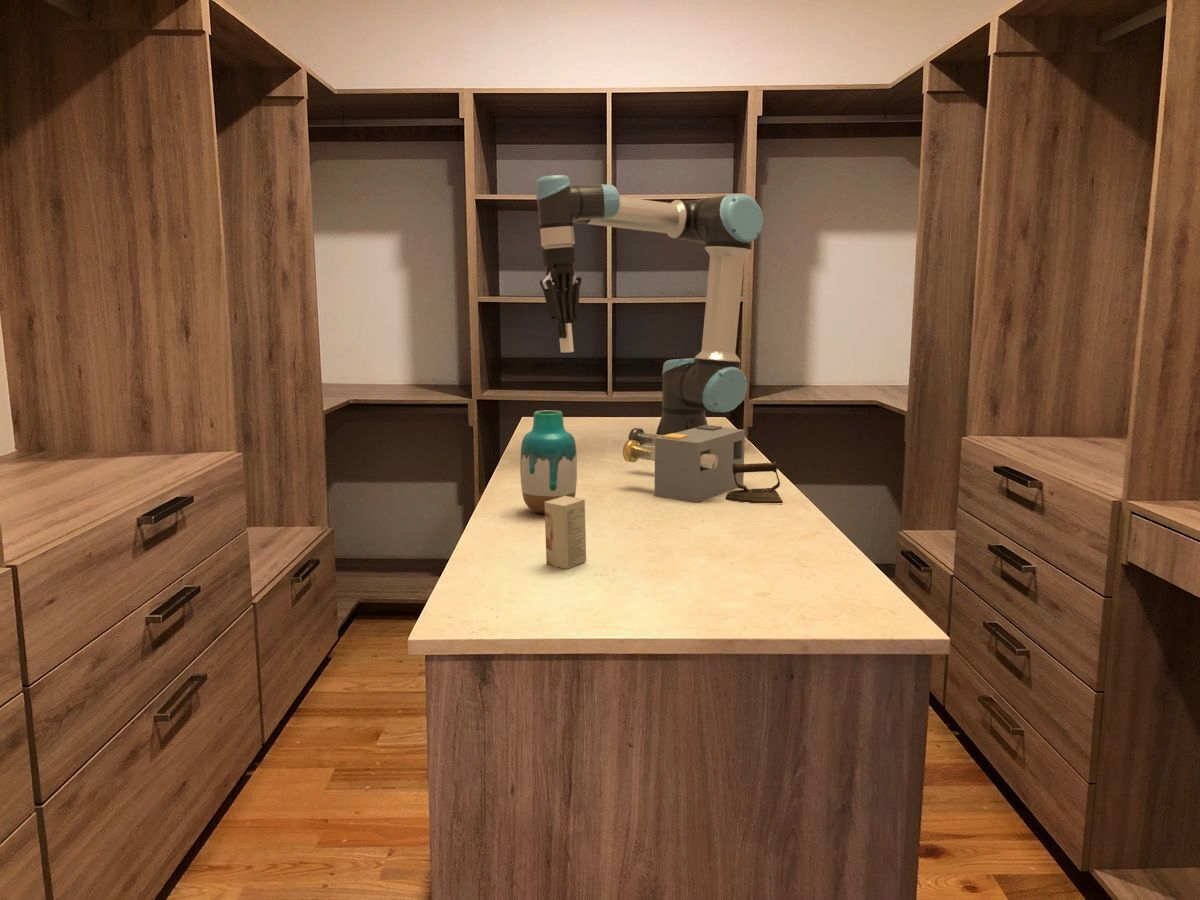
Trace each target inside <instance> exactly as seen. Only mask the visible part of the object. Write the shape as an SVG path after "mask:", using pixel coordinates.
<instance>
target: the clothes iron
mask: <svg viewBox="0 0 1200 900" xmlns="http://www.w3.org/2000/svg"><path fill="white" fill-rule="evenodd" d="M777 465H778V464H777V461H773V462H765V463H764V462H763V463H762V462H761V463H759V462H758V463H744V464H735V463H733V466H732V468H733V474H734V478H735V482H736V485H737V487H736V488H738V489H736V490H735V489H734V490H729V491H728V493H727V494H726V495H725V500H727V501H731V502H736V501H738V502H737V503H744V502H749V503H748V504H757V503H784V502H783V499H782V498H781V496H780V495H779V493H778V492H777V489H778V488H779V487H780V485H781V482H780V478H779V476H778V472H777V471H778V466H777ZM764 472H765V473H766V472H773V473H775V475H776V479H777V482H776V484H775V485H773V486H772V487H766V488H762V487H761V488H747V486H746V485H744V484H743V485H739V484H738V483H737V481H736V477H735V474H736V473H764Z"/></svg>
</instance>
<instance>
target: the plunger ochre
mask: <svg viewBox="0 0 1200 900" xmlns="http://www.w3.org/2000/svg"><path fill="white" fill-rule="evenodd" d="M622 457H623V459H624V461H625V462H629V463H635V462H637V461H638V460H645V461H652V462H653V461H654V462H655V447H653V446H645V445H643V446H640V444H639V442H638V441H635V440H629V439H627V441H626V442H625V443H624V445H623V448H622ZM717 464H718V457H717V456H716V455H712V454H704V453H701V459H700V467H703V468H711V469H715V468H716V466H717Z"/></svg>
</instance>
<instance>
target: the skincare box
mask: <svg viewBox="0 0 1200 900" xmlns="http://www.w3.org/2000/svg"><path fill="white" fill-rule="evenodd" d="M585 500H586V499H585V498H580V497H570V496H562V497H559V498H555V499H552V500H549V501H546V502H545V513H544V529H545V533H544V534H545V561H546V565H548V564H549V566H552V565H553V566H552V567H555V568H559V567H560V569H563V568H564V570H568V569H569V568H573V567H575V566H579V565H580V564H583V563H585V562H587V542H586V541H587V539H586V538H587V537H586V535H587V533H586V501H585Z"/></svg>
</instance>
